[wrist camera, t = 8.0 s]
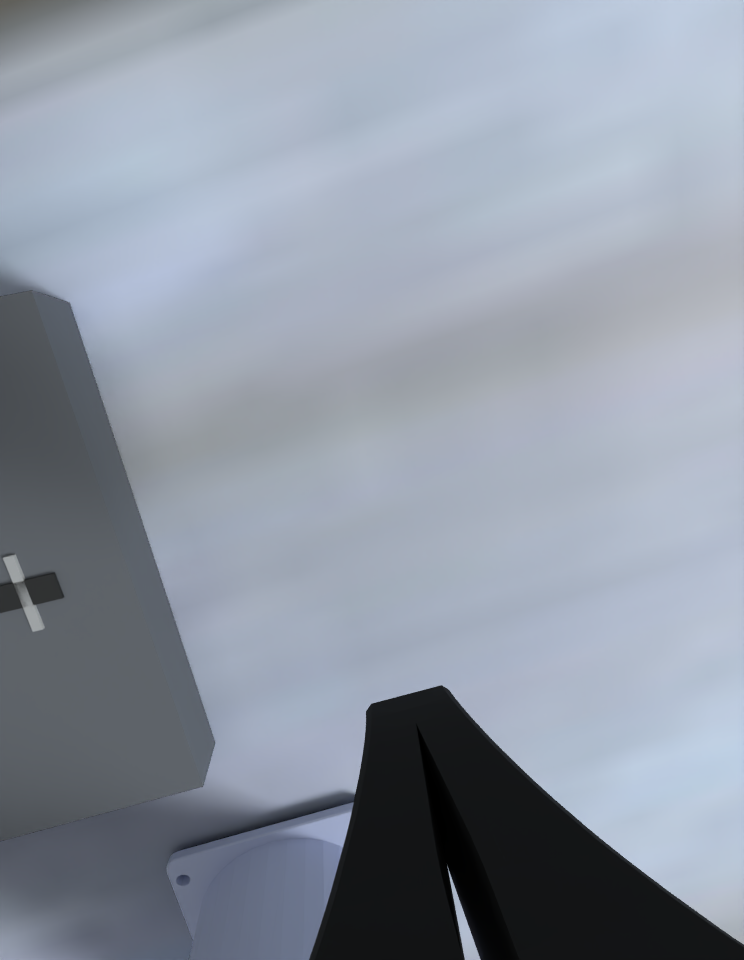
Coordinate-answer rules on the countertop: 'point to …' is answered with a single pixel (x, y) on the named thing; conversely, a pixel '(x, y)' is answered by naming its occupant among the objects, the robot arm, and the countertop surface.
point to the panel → (79, 600)
